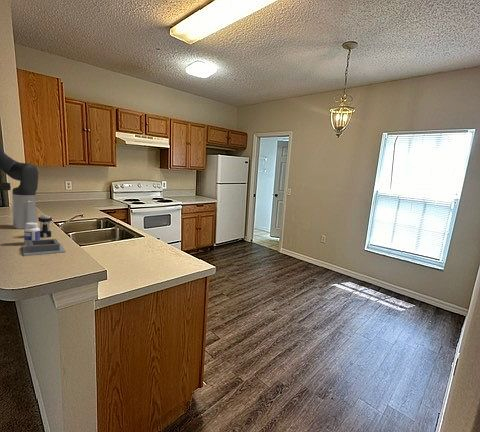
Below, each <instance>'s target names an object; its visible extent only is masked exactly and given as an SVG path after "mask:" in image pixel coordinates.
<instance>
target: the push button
mask: <svg viewBox="0 0 480 432" xmlns="http://www.w3.org/2000/svg"><path fill="white" fill-rule="evenodd" d="M37 219H38V222H39V224H40V227H39V229H40V238H51V237H52V231H51V227H50V226H51V223H50V222H52V219H53V217H51V215H46V214H45V215H40V216H39V217H37Z"/></svg>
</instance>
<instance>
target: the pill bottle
mask: <svg viewBox="0 0 480 432" xmlns="http://www.w3.org/2000/svg"><path fill="white" fill-rule="evenodd" d="M26 227H27V228H26V229H24V230H23V234H24V235H23V236H24V237H23V239H24V242H23V243H24V245H25V246H26V245H28V241H29V240H41V237H40V227H39V223H38V222H37V223H34V222H31V223H26Z"/></svg>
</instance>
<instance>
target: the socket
mask: <svg viewBox="0 0 480 432" xmlns="http://www.w3.org/2000/svg"><path fill="white" fill-rule="evenodd" d="M21 248H22V249H21V250H22V254H23V257H27V256H39V255H47V254H48V255H50V254H61V253H66V250H65V247H64V246H63V245H62V243H59V241H58V239H57V238H50V239H49V238H48V239H40V240H29V241H28V245H26V244H25V245H22V246H21Z"/></svg>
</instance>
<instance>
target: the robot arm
mask: <svg viewBox="0 0 480 432" xmlns="http://www.w3.org/2000/svg"><path fill="white" fill-rule="evenodd" d="M0 170H1V171H2V172H4V174H6V175H7V176H8V177H9V178H11V179H12V180H14V181H19V185H18V186H17V187H16V186H15V187H13V189H12V228H13V229H19V230H20V229H24V230H25V229H26V228H27V227H26V223H31V222H34V223H38V222H37V219H38V217H37V213H38V211H37V208H36V207H37V205H36V203H37V202H36V195H37V194H36V193H37V190H38V185H39V184H38V183H39V170H38V168H37V166H35V165H34V164H33V163H27V162H19V161H17V160H15V159H13V158H12V157H10V156H9V155H7V154H6V153H5V151H4V149H3V147H2V145H1V144H0ZM0 191H11V183H10V182H1V181H0Z"/></svg>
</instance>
